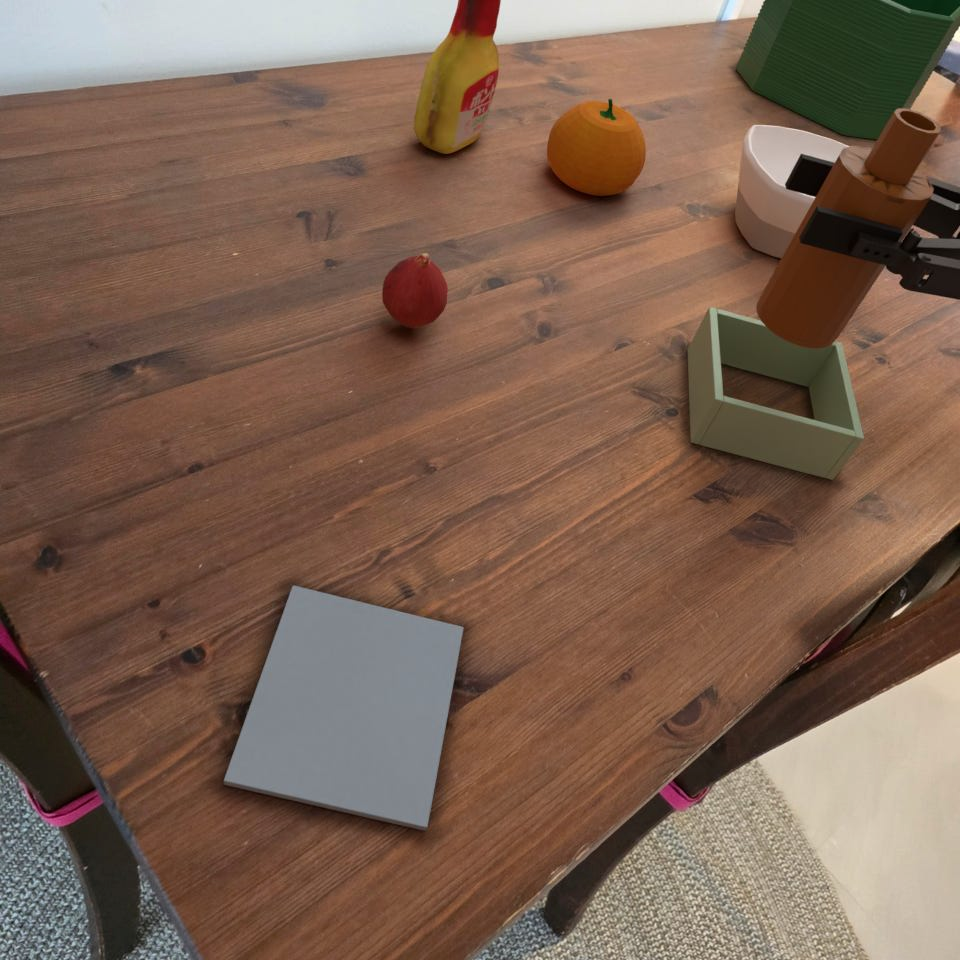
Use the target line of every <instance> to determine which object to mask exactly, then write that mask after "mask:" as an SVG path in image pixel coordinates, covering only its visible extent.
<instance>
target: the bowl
mask: <svg viewBox="0 0 960 960" xmlns="http://www.w3.org/2000/svg"><path fill="white" fill-rule="evenodd" d="M847 147H850V145H847V144H845V143H843V142H840V141H837V140H835V139H832V138H829V137H826V136H822V135H819V134H816V133H812V132H810V131H806V130H802V129H797V128H790V127H787V126H780V125H769V124H768V125H767V124H753V125H752V126H751V127H749V129H748V130H747V132H746V134H745V136H744V138H743V141H742V146H741V155H740V164H739V172H738V183H737V184H738V185H737V192H736V200H735V209H734V217H735V225H736V226H737V228H738V229H739V231H740V233H741V236H742V237H743V238H744V239H745V240H746V242H747V243H748V244H749V246H750V247H751V248H752V249H754V250H755V251H758V252H761V253H763V254H765V255H768V256H771V257H775V258H778V259H780V260H781V259H782V257H783V255H784V253H785V251H786V250H787V248H788V246H789V244H790V242H791V241H792V239H793V237H794V235H795V233H796V232H797V230H798V228H799V226H800V225H801V223H802V221H803V219H804V217H805V216H806V214H807V212H808V210H809V208H810V207H811V205H812V203H813V201H814V199H815V198H816V197H814V196H810V195H806V194H803V193H799V192H795V191H791V190H788V189H786V186H785V183H786V181H787V180H788V178H789V176H790V174H791V172H792V170H793V168H794V166H795V164H796V162H797V160H798V159H799V157H800V155H801V154H804V155H808V156H812V157H815V158H819V159H823V160H827V161H830V162H834V163H835V162H836V160H837V158H838V156H839V154H840V153H841V151H842V149H843V148H847Z"/></svg>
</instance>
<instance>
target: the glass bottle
mask: <svg viewBox="0 0 960 960" xmlns="http://www.w3.org/2000/svg"><path fill="white" fill-rule="evenodd" d="M941 132H942V127H941V126H940V124H939V123H938V122H937V121H935V120H934V119H932V118H931V117H930V116H928V115H926V114H924V113H922V112H919V111H917V110H914V109H906V108H898V109H897V110H895V111H894V113H893V114H892V116H891V118H890V119H889V121H888V123H887V125H886V126H885V128H884V130H883V131H882V133H881V135H880V137H879V138H878V140H876V142H875V143H874V145H873V147H870V146H864V145H851V146H850V145H849V146H850V147H847V148H843V149H842V151H841V153H840V154H839V156H838V158H837V160H836V162H835V163H834V165H833V167H832V169H831V171H830V172H829V174H828V176H827V178H826V180H825V181H824V183H823V185H822V187H821V189H820V190H819V192H818V194H817V196H816V198H815V199H814V201H813V203H812V205H811V207H810V208H809V210H808V212H807V214H806V216H805V217H804V219H803V221H802V223H801V225H800V226H799V228H798V230H797V232H796V233H795V235H794V237H793V239H792V241H791V242H790V244H789V246H788V248H787V250H786V251H785V253H784V255H783V257H782V259H781V258H780V261H779V262H778V264H777V266H776V268H775V269H774V271H773V273H772V275H771V277H770V278H769V280H768V282H767V283H766V285H765V287H764V289H763V291H762V292H761V295H760V296H759V298H758V300H757V302H756V307H755V309H756V313H757V316H758V318H759V320H761V321H762V322H763V324H764V325H765V326H766V327H767V328H768V329H769V330H771V331H772V332H773V333H774V334H776V335H777V336H779V337H780V338H782V339H784V340H786V341H788V342H790V343H792V344H795V345H798V346H802V347H806V348H814V349H819V348H825V347H828V346H830V345H831V344H833V343H834V342H835V341H836V340H837V339H838V338H839V337H840V335H841V334H842V333H843V331H844V330H845V328H846V326H847V325H848V323H849V322H850V321H851V319H852V318H853V316H854V314H855V313H856V311H857V310H858V308H859V307H860V306H861V304H862V302H863V300H864V299H865V297H866V296H867V295H868V293H869V292H870V290H871V288H872V287H873V286H874V284H875V282H876V281H877V279H878V278H879V277H880V275H881V273H882V272H883V270H884V269H885V268H886V265H883V264H878V263H874V262H870V261H867V260H863V259H859V258H855V257H851V256H848V255H844V254H840V253H836V252H832V251H828V250H825V249H821V248H817V247H813V246H809V245H806V244H802V243H800V239H799V237H800V235H801V233H802V232H803V230H804V228H805V226H806V224H807V223H808V221H809V219H810V217H811V216H812V214H813V212H814V210H815V208H816V207H817V206H819V207H823V208H827V209H831V210H834V211H838V212H842V213H846V214H849V215H853V216H857V217H861V218H864V219H868V220H872V221H876V222H879V223H883V224H887V225H891V226H894V227H898V228H901V230H902V233H903V234H902V236H901V237H900V239H899V240H898V241H899V242H902V241H903V239H904V238H905V236H906V235H907V233H908V232H909V230H910V229H911V228H913V226H914V225H913V224H914V222H915V221H916V219H917V218H918V216H919V215H920V213H921V212H922V210H923V209H924V207H925V206H926V204H927V203H928V201H929V200H930V198H931V197H932V194H933V191H934V188H933V186H932V184H931V182H930V180H929V179H928V178H927V177H926V176H927V175H926V174H924V173H923V172H922V171H921V170H920V169H919V167H920V165H921V164H922V162H923V160H924V158H925V157H926V156H927V154H928V153H929V151H930V149H931V148H932V146H933V144H934V143H935V141H936V140H937V138H938V137H939V135H940V134H941Z"/></svg>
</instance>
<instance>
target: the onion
mask: <svg viewBox="0 0 960 960" xmlns="http://www.w3.org/2000/svg"><path fill="white" fill-rule="evenodd" d="M448 292H449V287H448V283H447V281H446V279H445V276H444V274H443V272H442V271H441V269H440V268H439V267H438V266H437V265H436V264H435V263H434V262H433V261H431V260H430V256H429V253H427V252H423V253H420V254H419V255H414V256H413V255H412V256H410V257H408V258H404V259H402V260H400V261H398V262H397V263H396V264H395V265H394V266H393V267H392V268H391V269H390V270H389V271H388V272H387V274H386V276H385V277H384V280H383V283H382V291H381V297H382V299H381V300H382V303H383V305H384V307H385V309H386V311H387V312H388V314H389V315H390V316H391V317H392V318H393V319H394V320H395V321H396V322H398V323H399V324H401V325H403V326H404V327H405V328H407V329H414V328H421V327H425V326H427V325H430V324H432V323H435V321H436V320H437V319H438V318H439V317H440V316H441V315H442V313H443V312H445V309H446V306H447V304H448Z"/></svg>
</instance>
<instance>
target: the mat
mask: <svg viewBox="0 0 960 960" xmlns="http://www.w3.org/2000/svg"><path fill="white" fill-rule="evenodd" d="M464 630H465V628H464V626H461V625H456V624H453V623H449V622H444V621H440V620H435V619H432V618H428V617H424V616H419V615H417V614H411V613H408V612H404V611H400V610H396V609H391V608H388V607H383V606H379V605H376V604H371V603H367V602H363V601H358V600H355V599H350V598H347V597H344V596H343V597H342V596H339V595H334V594H330V593H325V592H323V591H318V590H314V589H310V588H305V587H303V586H302V587H301V586H298V585H292V586H291V589H290V592H289V595H288V597H287V599H286V603H285V606H284V608H283V611H282V615H281V616H280V620H279V622H278V625H277V629H276V631H275V634H274V637H273V640H272V643H271V646H270V648H269V651H268V654H267V657H266V660H265V662H264V665H263V668H262V671H261V673H260V677H259V678H258V682H257V684H256V687H255V690H254V692H253V693H254V694H253V696H252V699H251V701H250V704H249V708H248V710H247V713H246V716H245V719H244V721H243V724H242V727H241V730H240V733H239V736H238V739H237V741H236V744H235V747H234V749H233V753H232V756H231V758H230V761H229V763H228V766H227V770H226V772H225V775H224V778H223V785H224V786H228V787H231V788H232V787H233V788H237V789H241V790H245V791H250V792H254V793H259V794H262V795H266V796H272V797H276V798H281V799H285V800H288V801H294V802H297V803H301V804H306V805H311V806H314V807H315V806H316V807H320V808H324V809H328V810H332V811H336V812H341V813H346V814H349V815H355V816H358V817H363V818H367V819H372V820H376V821H381V822H385V823H389V824H394V825H398V826H401V827H406V828H411V829H415V830H420V831H425V832H426V831H427V830H428V827H429V821H430V816H431V812H432V811H431V810H432V804H433V799H434V793H435V789H436V782H437V778H438V771H439V766H440V762H441V761H440V760H441V756H442V751H443V750H442V749H443V746H444V745H443V744H444V739H445V733H446V728H447V723H448V716H449V712H450V707H451V700H452V695H453V689H454V683H455V679H456V673H457V668H458V663H459V662H458V661H459V657H460V651H461V647H462V646H461V645H462V639H463V635H464Z"/></svg>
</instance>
